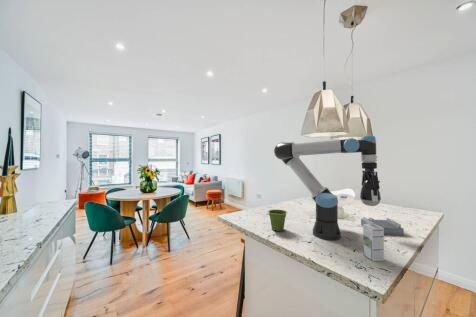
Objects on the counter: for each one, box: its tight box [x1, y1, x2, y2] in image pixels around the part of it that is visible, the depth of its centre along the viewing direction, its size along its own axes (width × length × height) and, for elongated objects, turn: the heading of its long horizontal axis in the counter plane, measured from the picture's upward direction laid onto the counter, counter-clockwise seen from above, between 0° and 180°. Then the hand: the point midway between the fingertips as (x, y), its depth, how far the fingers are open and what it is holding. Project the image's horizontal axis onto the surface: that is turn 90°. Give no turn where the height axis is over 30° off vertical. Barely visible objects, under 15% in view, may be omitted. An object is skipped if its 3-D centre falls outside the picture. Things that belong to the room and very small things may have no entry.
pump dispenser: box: [359, 179, 382, 207], centre depth 117 cm, size 10×10×15 cm
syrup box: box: [362, 224, 385, 262], centre depth 88 cm, size 6×6×14 cm
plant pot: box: [267, 209, 288, 232], centre depth 124 cm, size 12×12×11 cm
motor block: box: [360, 216, 405, 237], centre depth 125 cm, size 16×20×6 cm
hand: (370, 199), depth 117 cm, fingers closed on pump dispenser, 10 cm apart
